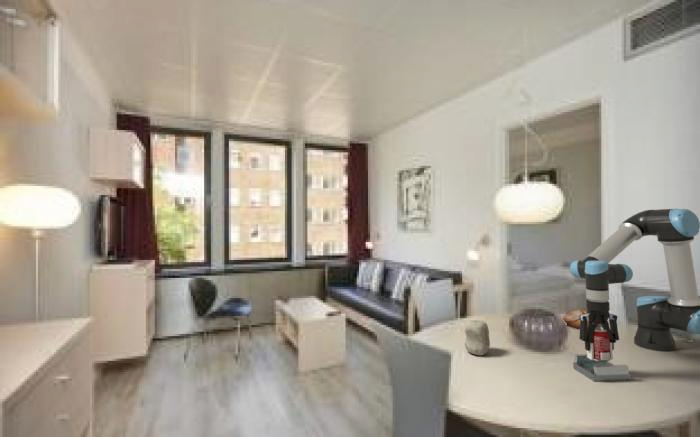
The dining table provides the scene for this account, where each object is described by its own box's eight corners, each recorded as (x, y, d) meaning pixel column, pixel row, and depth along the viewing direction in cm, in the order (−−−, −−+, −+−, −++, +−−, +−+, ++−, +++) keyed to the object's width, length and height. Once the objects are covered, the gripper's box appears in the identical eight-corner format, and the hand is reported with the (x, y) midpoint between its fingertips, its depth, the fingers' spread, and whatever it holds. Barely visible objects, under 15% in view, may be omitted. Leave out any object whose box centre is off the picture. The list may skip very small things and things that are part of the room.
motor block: (606, 366, 146) (605, 353, 146) (631, 380, 133) (630, 366, 133) (572, 367, 146) (572, 354, 146) (594, 382, 133) (594, 367, 133)
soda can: (614, 363, 136) (612, 332, 136) (594, 362, 137) (593, 331, 137) (605, 356, 142) (603, 326, 142) (586, 355, 144) (585, 326, 144)
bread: (591, 334, 188) (589, 316, 188) (555, 325, 206) (554, 308, 205) (608, 327, 195) (607, 310, 195) (572, 319, 213) (571, 303, 213)
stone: (480, 359, 159) (478, 325, 159) (460, 352, 167) (458, 320, 168) (494, 352, 165) (493, 320, 165) (474, 346, 174) (473, 316, 174)
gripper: (615, 297, 144) (617, 353, 143) (566, 298, 143) (569, 355, 143) (629, 301, 136) (632, 361, 136) (579, 303, 136) (581, 363, 136)
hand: (599, 358), depth 140 cm, fingers closed on soda can, 7 cm apart
